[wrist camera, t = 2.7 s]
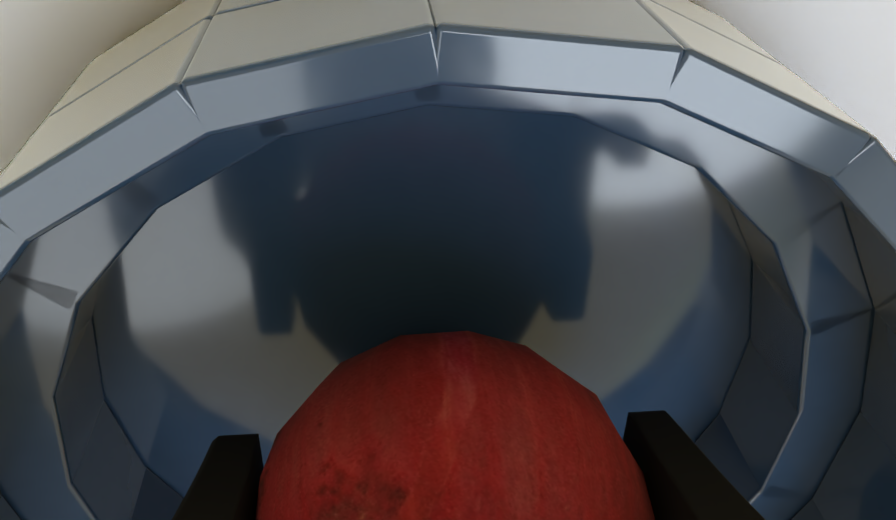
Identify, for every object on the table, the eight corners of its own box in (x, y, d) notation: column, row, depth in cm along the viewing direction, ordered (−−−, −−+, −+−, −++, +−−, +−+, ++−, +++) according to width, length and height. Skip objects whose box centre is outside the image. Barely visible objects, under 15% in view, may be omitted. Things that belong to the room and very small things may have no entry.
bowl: (971, 304, 16) (1161, 482, 12) (451, 662, 21) (471, 861, 17) (391, -360, 9) (417, -420, 5) (-154, 405, 14) (-331, 639, 11)
